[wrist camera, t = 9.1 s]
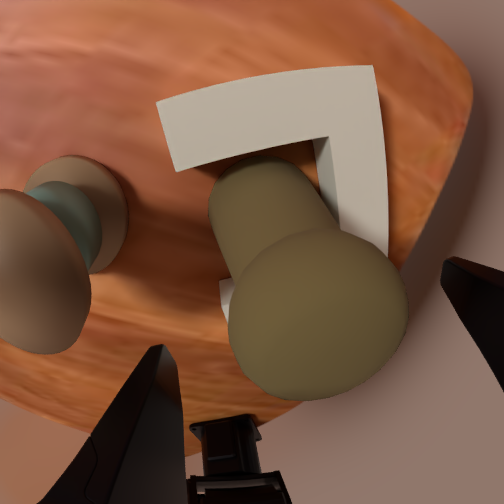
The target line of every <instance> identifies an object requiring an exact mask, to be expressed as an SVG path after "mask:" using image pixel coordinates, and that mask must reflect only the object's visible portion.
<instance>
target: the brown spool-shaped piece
mask: <svg viewBox="0 0 504 504" xmlns="http://www.w3.org/2000/svg"><path fill="white" fill-rule="evenodd" d="M128 222H129V214H128V206H127V202H126V198H125V195H124V193H123V190H122V188H121V186H120V185H119V183H118V181H117V180H116V179H115V177H114V176H113V175H112V173H111V172H110V171H109V170H108V169H107V168H105V167H104V166H103V165H101V164H100V163H98V162H97V161H95V160H93V159H90V158H88V157H84V156H79V155H67V156H63V157H59V158H57V159H54V160H52V161H50V162H48V163H45V164H44V165H42V166H41V167H39V168H38V169H37V170H36V171H35V172H34V173H33V174H32V176H31V177H30V178H29V180H28V182H27V183H26V186H25V188H24V190H23V192H20V191H16V190H12V189H0V338H2V339H3V340H5V341H6V342H8V343H10V344H12V345H13V346H15V347H17V348H20V349H22V350H25V351H28V352H31V353H36V354H55V353H60V352H62V351H64V350H66V349H68V348H69V347H71V346H72V345H73V344H74V343H75V342H76V340H77V339H78V337H79V335H80V333H81V330H82V328H83V326H84V323H85V321H86V319H87V316H88V313H89V310H90V305H91V283H90V278H89V275H90V274H94V273H96V272H99V271H100V270H102V269H104V268H105V267H106V266H108V265H109V264H110V263H111V262H112V261H113V260H114V258H115V257H116V255H117V254H118V252H119V250H120V248H121V246H122V244H123V242H124V240H125V237H126V234H127V230H128Z"/></svg>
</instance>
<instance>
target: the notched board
mask: <svg viewBox="0 0 504 504" xmlns="http://www.w3.org/2000/svg"><path fill="white" fill-rule="evenodd" d="M156 105H157V108H158V112H159V116H160V119H161V123H162V126H163V130H164V133H165V137H166V140H167V144H168V147H169V151H170V154H171V157H172V161H173V164H174V167H175V171H176V172H179V171H182V170H185V169H189V168H192V167H195V166H199V165H202V164H206V163H210V162H213V161H217V160H221V159H224V158H228V157H232V156H236V155H240V154H244V153H248V152H252V151H257V150H261V149H265V148H270V147H275V146H279V145H284V144H289V143H294V142H299V141H304V140H310V139H312V141H313V147H314V153H315V159H316V166H317V172H318V179H319V186H320V193H321V199H322V201H323V202H324V204H325V205H326V207H327V208H328V210H329V212H330V213H331V215H332V216H333V218H334V219H335V221H336V222H337V224H338V226H339V227H340V229H341V230H343V231H345V232H348V233H351V234H353V235H355V236H357V237H360V238H362V239H364V240H366V241H369V242H371V243H373V244H374V245H375V246H376V247H377V248H379V249H380V250H381V251H382V252H383V253H384V254H385V255H386V256H387V258H388V188H387V170H386V156H385V145H384V135H383V126H382V118H381V111H380V104H379V97H378V91H377V85H376V80H375V74H374V69H373V65H366V66H339V67H324V68H313V69H303V70H295V71H287V72H280V73H273V74H267V75H261V76H255V77H250V78H245V79H240V80H235V81H231V82H226V83H222V84H218V85H213V86H209V87H205V88H202V89H198V90H194V91H191V92H187V93H184V94H180V95H177V96H174V97H170V98H167V99H164V100H161V101H158V102H156ZM219 288H220V298H221V307H222V309H223V312H224V315H225V317H226V320H227V323H228V316H229V304H230V300H231V296H232V293H233V290H234V288H235V284H234V281H233V279H232V278H228V279H224V280H220V281H219Z"/></svg>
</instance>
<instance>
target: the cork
mask: <svg viewBox="0 0 504 504" xmlns="http://www.w3.org/2000/svg"><path fill="white" fill-rule="evenodd" d="M208 217H209V220H210V223H211V227H212V230H213V232H214V235H215V237H216V240H217V242H218V245H219V247H220V250H221V252H222V255H223V257H224V260H225V262H226V264H227V267H228V269H229V272H230V274H231V277H232V279H233V281H234V284H235V288H234V290H233V293H232V296H231V300H230V304H229V316H228V334H229V342H230V345H231V347H232V350H233V352H234V355H235V357H236V359H237V362H238V364H239V365H240V367H241V369H242V371H243V373H244V374H245V375H246V376H247V377H248V378H249V379H251V380H252V381H253V382H254V383H255V384H256V385H258V386H259V387H260V388H261V389H262V390H264V391H265V392H266V393H267V394H269V395H272V396H275V397H278V398H281V399H284V400H296V401H311V400H318V399H324V398H330V397H333V396H335V395H338V394H341V393H344V392H347V391H349V390H351V389H352V388H354V387H356V386H358V385H360V384H361V383H364V382H365V381H366V380H368V379H369V378H370V377H372V376H373V375H374V374H375V373H376V372H378V371H379V370H380V369H381V368H382V367H383V366H384V365H385V364H386V362H387V361H388V360H389V359H390V358H391V357H392V355H393V354H394V353H395V352H396V350H397V349H398V347H399V345H400V343H401V341H402V339H403V337H404V335H405V333H406V328H407V323H408V318H409V306H408V298H407V293H406V289H405V284H404V282H403V280H402V278H401V275H400V273H399V271H398V269H397V268H396V267H395V266H394V265H393V263H392V262H391V261H390V260H389V259H388V258H387V256H386V255H385V254H384V253H383V252H382V251H381V250H380V249H379V248H377V247H376V246H375V245H374V244H373V243H371V242H369V241H366V240H364V239H362V238H360V237H357V236H355V235H353V234H351V233H348V232H345V231H343V230H341V229H340V227H339V226H338V224H337V222H336V221H335V219H334V218H333V216H332V215H331V213H330V212H329V210H328V208H327V207H326V205H325V204H324V202H323V201H322V199H321V198H320V196H319V195H318V193H317V192H316V190H315V189H314V187H313V186H312V184H311V183H310V181H309V180H308V179H307V177H306V176H305V174H303V173H302V172H301V171H300V170H299V169H298V168H297V167H296V166H295V165H294V164H292V163H290V162H288V161H286V160H283V159H281V158H279V157H273V156H261V155H259V156H255V157H251V158H247V159H243V160H241V161H239V162H238V163H236V164H234V165H233V166H231V167H229V168H228V169H226V171H225V172H224V173H223V174H222V175H221V176H220V178H219V179H218V180H217V181H216V182H215V184H214V187H213V189H212V192H211V194H210V197H209V205H208Z"/></svg>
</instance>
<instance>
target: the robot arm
mask: <svg viewBox="0 0 504 504" xmlns="http://www.w3.org/2000/svg"><path fill="white" fill-rule="evenodd" d="M440 283H441V286H442V288H443V290H444V292H445V293H446V295H447V297H448V298H449V300H450V302H451V304H452V305H453V307H454V309H455V311H456V313H457V314H458V316H459V318H460V320H461V321H462V323H463V324H464V326H465V327H466V329H467V331H468V332H469V334H470V335H471V337H472V338H473V340H474V341H475V343H476V345H477V346H478V348H479V349H480V351H481V353H482V354H483V356H484V358H485V359H486V361H487V363H488V364H489V366H490V368H491V370H492V371H493V373H494V375H495V377H496V379H497V380H498V382H499V384H500V386H501V388H502V390H503V392H504V272H503V271H500V270H497V269H494V268H491V267H488V266H485V265H481V264H478V263H475V262H472V261H468V260H465V259H462V258H459V257H455V256H453V257H450V258H448V259H446V260H445V261H444V262H443V267H442V273H441V279H440ZM189 429H190V431H191V432H192V433H193V434H194V435H195V436H196V437H197V438H198V439H199V440H200V441H201V444H202V458H203V471H204V476H195V475H190V479H186V472H185V454H184V428H183V409H182V402H181V394H180V386H179V378H178V370H177V365H176V362H175V360H174V359H173V357H172V356H171V354H170V352H169V351H168V349H167V347H166V346H165V345H164V344H159V345H154V346H151V347H150V348H149V349H148V350H147V352H146V353H145V355H144V356H143V357H142V359H141V360H140V362H139V363H138V365H137V366H136V368H135V369H134V370H133V372H132V373H131V375H130V376H129V378H128V379H127V381H126V382H125V384H124V385H123V386H122V388H121V389H120V391H119V392H118V394H117V395H116V397H115V398H114V400H113V401H112V403H111V404H110V406H109V407H108V409H107V410H106V412H105V413H104V415H103V416H102V418H101V419H100V421H99V422H98V424H97V425H96V427H95V428H94V430H93V431H92V433H91V437H88V439H87V440H86V442H85V443H84V445H83V447H82V448H81V449H80V451H79V452H78V454H77V455H76V457H75V458H74V460H73V461H72V462H71V464H70V465H69V466H68V467H67V469H66V470H65V471H64V473H63V474H62V475H61V477H60V478H59V479H58V480H57V481H56V483H55V484H54V486H53V487H52V488H51V489H50V490H49V492H48V493H47V494H46V495H45V497H44V498H43V499H42V500H41V501H39V502H38V503H37V504H292V502H291V499H290V496H289V494H288V491H287V489H286V486H285V484H284V481H283V479H282V476H281V473H280V471H273V472H268V473H262V472H261V467H260V463H259V457H258V452H257V447H256V441H260V440H261V439H262V438H261V435H260V433H259V431H258V429H257V427H256V425H255V423H254V422H253V420H252V418H251V416H250V415H242V416H237V417H232V418H227V419H221V420H216V421H210V422H203V423H197V424H191V425H190V426H189ZM197 492H205V494H197Z"/></svg>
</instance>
